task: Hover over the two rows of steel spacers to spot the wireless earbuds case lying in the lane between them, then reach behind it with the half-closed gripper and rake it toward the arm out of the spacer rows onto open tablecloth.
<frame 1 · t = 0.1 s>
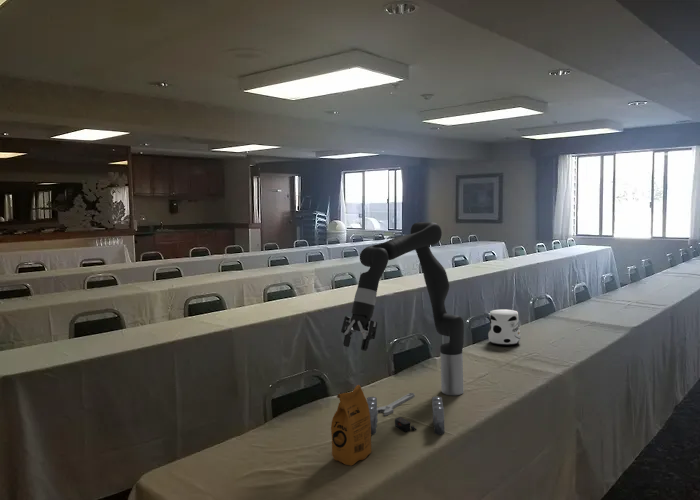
hand: (354, 348, 180), 31 cm above the table, tool tilted 20°, fingers open, 8 cm apart
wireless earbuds: (405, 430, 187), on the table
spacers: (405, 427, 188), on the table
coffee package: (352, 457, 168), on the table
adjustable wrench: (397, 406, 209), on the table
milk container: (504, 343, 293), on the table
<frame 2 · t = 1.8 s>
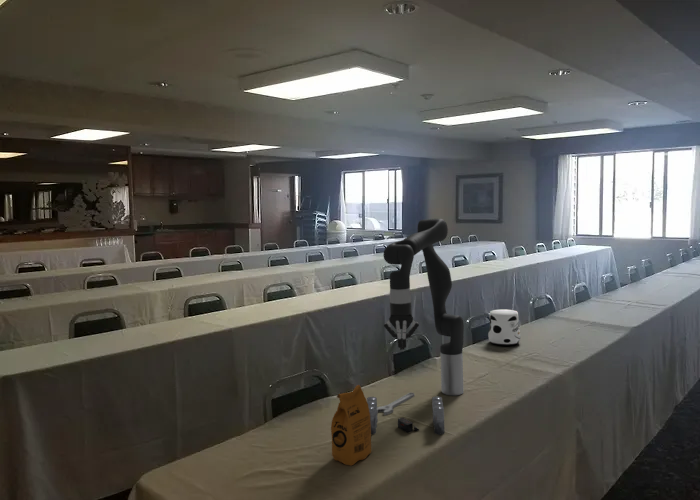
hand: (402, 348, 186), 29 cm above the table, tool pointing down, fingers closed
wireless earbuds: (408, 430, 186), on the table
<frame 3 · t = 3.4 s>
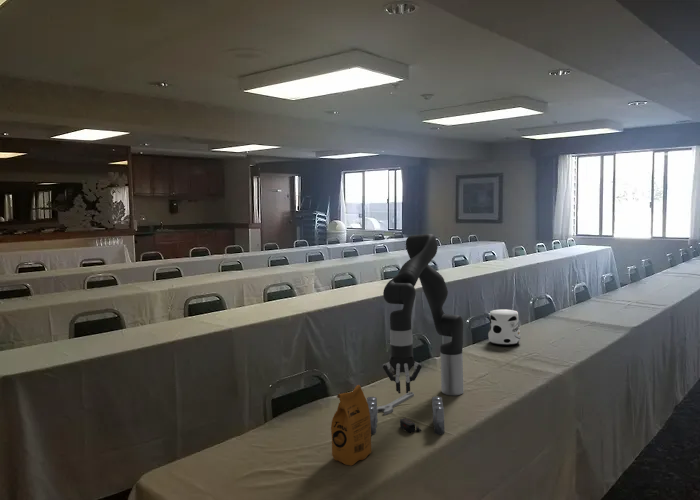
hand: (403, 392, 176), 17 cm above the table, tool pointing down, fingers closed
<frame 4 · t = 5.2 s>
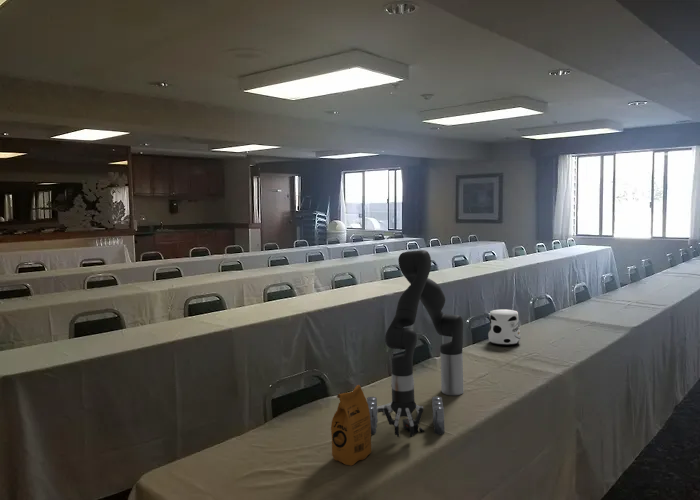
hand: (404, 435, 177), 2 cm above the table, tool pointing down, fingers open, 4 cm apart
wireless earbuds: (413, 431, 185), on the table
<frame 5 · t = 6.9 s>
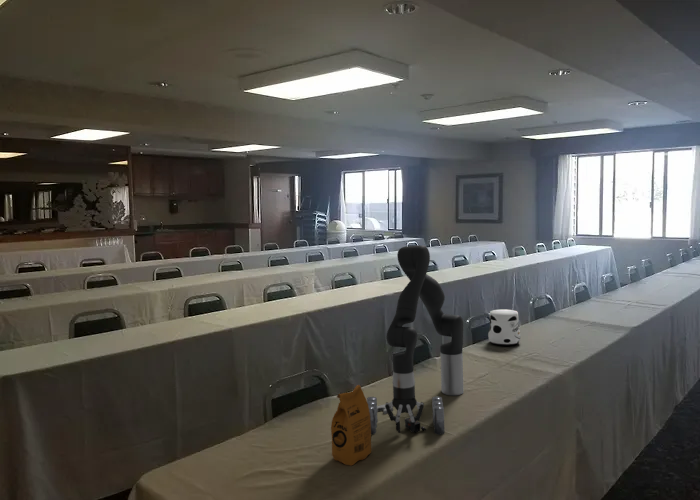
hand: (405, 431, 182), 1 cm above the table, tool pointing down, fingers open, 4 cm apart
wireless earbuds: (415, 430, 186), on the table, touching gripper
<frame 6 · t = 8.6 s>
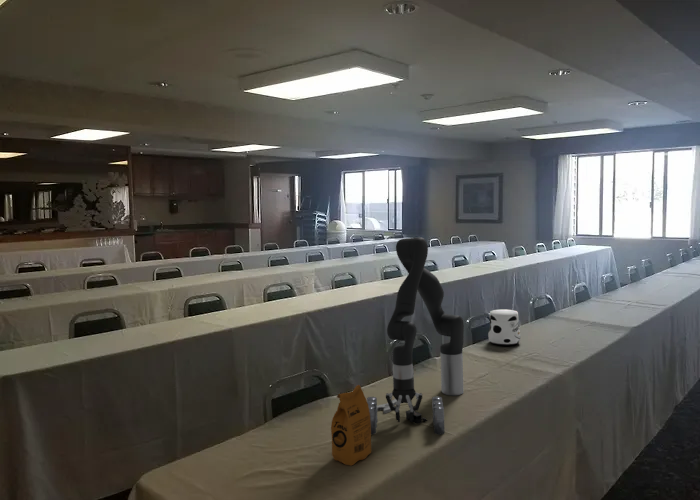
hand: (404, 420, 191), 1 cm above the table, tool pointing down, fingers open, 4 cm apart
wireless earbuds: (416, 422, 193), on the table
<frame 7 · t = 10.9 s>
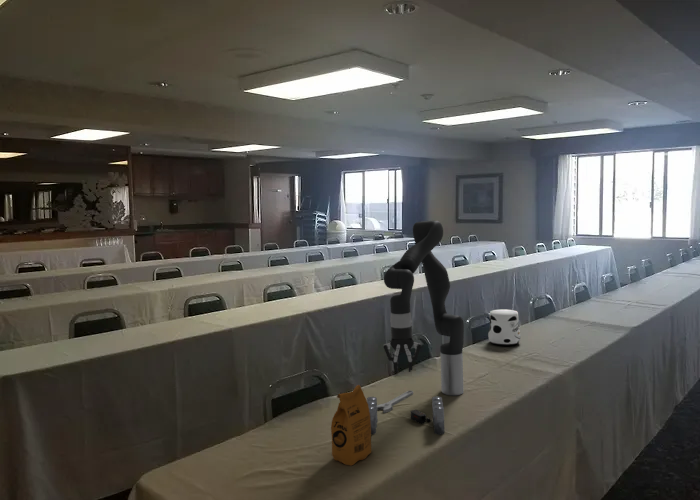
hand: (403, 371, 188), 20 cm above the table, tool pointing down, fingers open, 4 cm apart
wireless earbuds: (421, 422, 193), on the table
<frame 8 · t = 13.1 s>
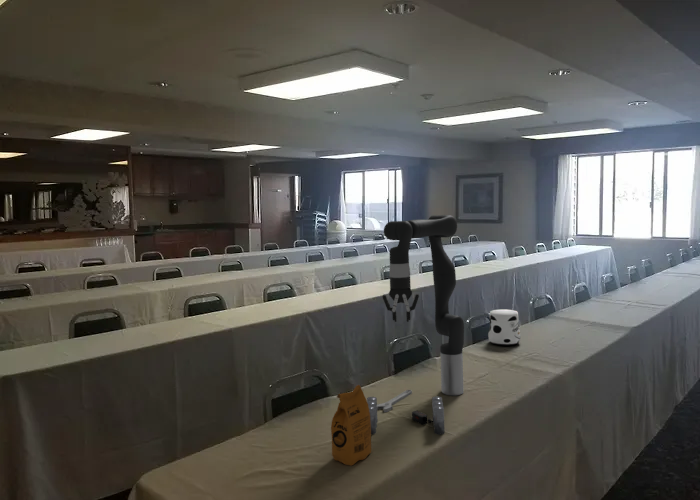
hand: (401, 321, 193), 37 cm above the table, tool pointing down, fingers open, 4 cm apart
at the end: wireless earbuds inside the target area (8.4 cm from its centre), on the table; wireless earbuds moved 9.0 cm from its start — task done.
